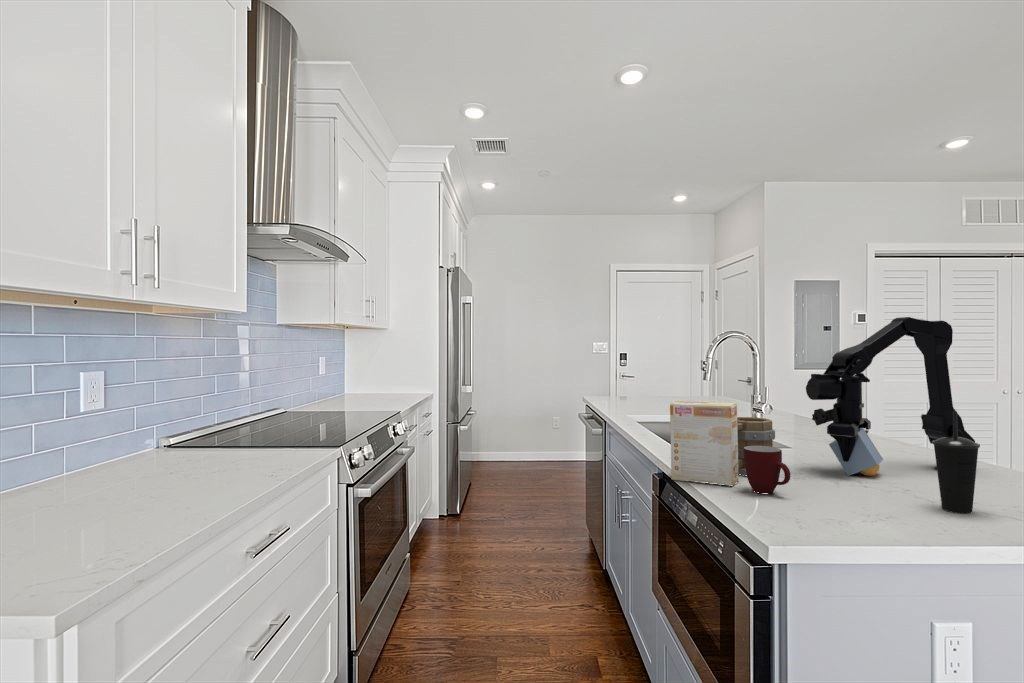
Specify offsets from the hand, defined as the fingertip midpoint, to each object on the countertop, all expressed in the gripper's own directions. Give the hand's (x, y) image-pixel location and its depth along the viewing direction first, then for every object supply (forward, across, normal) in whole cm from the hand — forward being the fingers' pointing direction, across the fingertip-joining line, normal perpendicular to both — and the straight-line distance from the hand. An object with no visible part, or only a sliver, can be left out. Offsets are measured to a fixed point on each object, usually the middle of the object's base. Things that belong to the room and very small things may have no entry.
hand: (849, 459), depth 147 cm
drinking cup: (+4, +23, +24) cm, 33 cm away
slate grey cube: (+2, 0, +4) cm, 4 cm away
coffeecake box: (+4, +32, -25) cm, 41 cm away
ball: (+1, 0, +4) cm, 4 cm away
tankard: (+4, +18, -21) cm, 28 cm away
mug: (+4, +34, -9) cm, 35 cm away
